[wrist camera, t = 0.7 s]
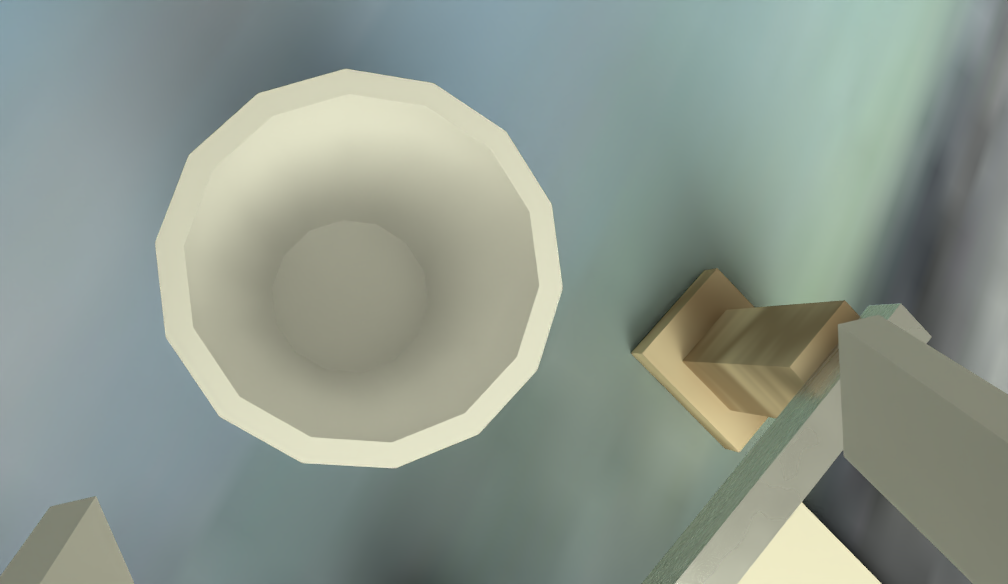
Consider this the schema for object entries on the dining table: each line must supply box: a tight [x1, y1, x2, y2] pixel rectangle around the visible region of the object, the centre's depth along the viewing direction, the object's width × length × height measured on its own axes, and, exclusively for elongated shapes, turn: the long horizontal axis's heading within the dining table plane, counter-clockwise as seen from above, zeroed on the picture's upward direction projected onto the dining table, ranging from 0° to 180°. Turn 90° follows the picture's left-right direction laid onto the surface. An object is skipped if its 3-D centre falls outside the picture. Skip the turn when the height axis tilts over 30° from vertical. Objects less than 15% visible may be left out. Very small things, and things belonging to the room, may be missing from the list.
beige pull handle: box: [631, 268, 860, 452], centre depth 28 cm, size 23×6×9 cm, turn 136°
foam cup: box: [155, 69, 563, 468], centre depth 25 cm, size 10×9×13 cm
